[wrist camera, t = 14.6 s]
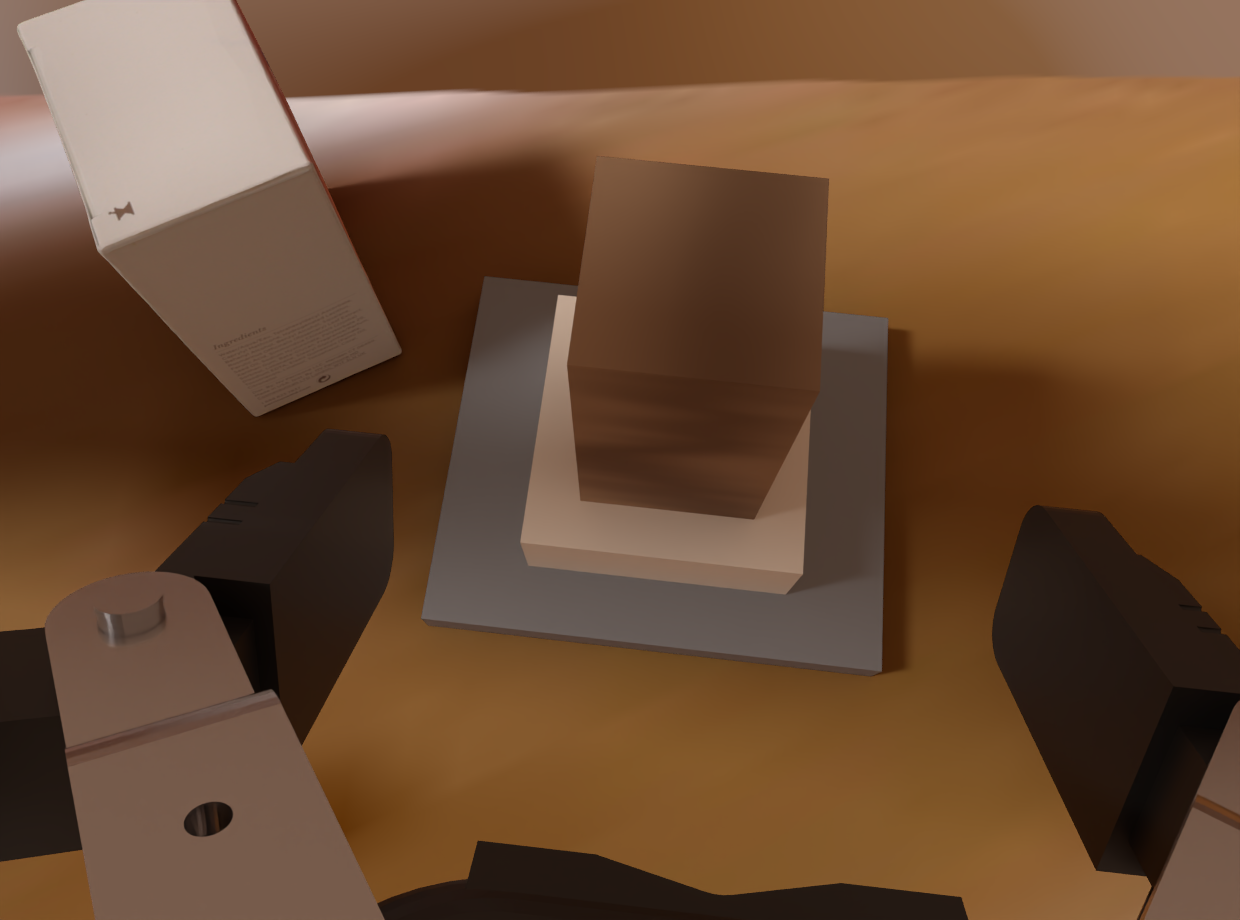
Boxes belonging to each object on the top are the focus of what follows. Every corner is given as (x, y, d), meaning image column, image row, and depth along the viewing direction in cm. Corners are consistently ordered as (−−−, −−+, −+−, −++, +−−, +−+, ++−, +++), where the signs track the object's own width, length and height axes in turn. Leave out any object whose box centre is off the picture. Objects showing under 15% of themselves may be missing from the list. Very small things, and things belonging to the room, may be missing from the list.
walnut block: (580, 501, 27) (566, 364, 19) (601, 345, 29) (596, 155, 20) (754, 519, 27) (819, 391, 18) (764, 362, 29) (828, 178, 20)
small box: (406, 357, 33) (318, 168, 23) (253, 423, 32) (95, 256, 22) (325, 185, 35) (214, -53, 26) (181, 241, 35) (8, 17, 25)
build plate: (428, 625, 30) (401, 599, 26) (488, 293, 34) (473, 230, 30) (871, 676, 29) (909, 658, 26) (878, 334, 33) (912, 275, 30)
